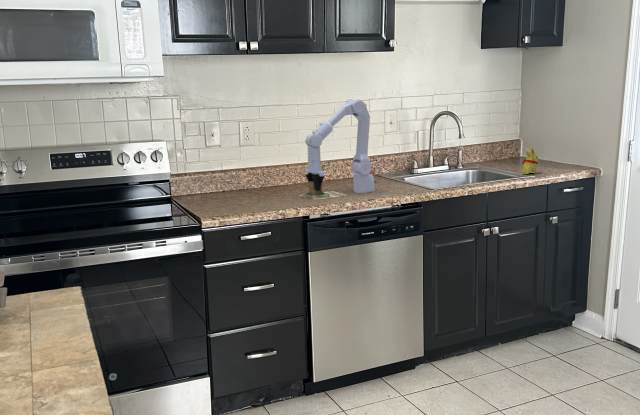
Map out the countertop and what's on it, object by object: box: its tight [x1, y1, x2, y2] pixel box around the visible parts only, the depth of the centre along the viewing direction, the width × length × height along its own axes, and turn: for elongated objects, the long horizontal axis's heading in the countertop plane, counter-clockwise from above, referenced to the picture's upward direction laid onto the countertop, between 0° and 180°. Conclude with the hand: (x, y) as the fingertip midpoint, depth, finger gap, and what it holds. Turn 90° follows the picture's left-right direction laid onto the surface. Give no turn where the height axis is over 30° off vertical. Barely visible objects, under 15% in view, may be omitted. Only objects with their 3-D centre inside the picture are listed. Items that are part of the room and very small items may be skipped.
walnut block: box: [307, 180, 323, 196], centre depth 291 cm, size 4×4×6 cm
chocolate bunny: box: [521, 145, 539, 174], centre depth 340 cm, size 7×11×15 cm, turn 123°
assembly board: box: [298, 190, 348, 201], centre depth 293 cm, size 18×14×2 cm
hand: (315, 190), depth 291 cm, fingers closed on walnut block, 4 cm apart
